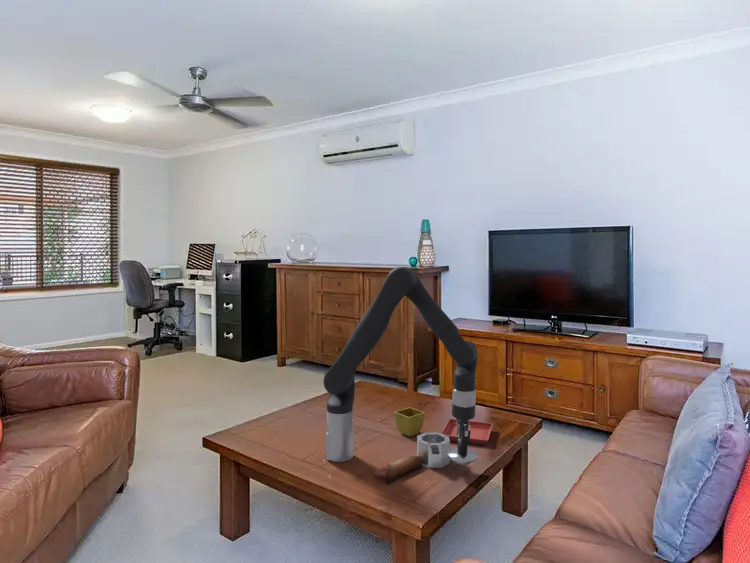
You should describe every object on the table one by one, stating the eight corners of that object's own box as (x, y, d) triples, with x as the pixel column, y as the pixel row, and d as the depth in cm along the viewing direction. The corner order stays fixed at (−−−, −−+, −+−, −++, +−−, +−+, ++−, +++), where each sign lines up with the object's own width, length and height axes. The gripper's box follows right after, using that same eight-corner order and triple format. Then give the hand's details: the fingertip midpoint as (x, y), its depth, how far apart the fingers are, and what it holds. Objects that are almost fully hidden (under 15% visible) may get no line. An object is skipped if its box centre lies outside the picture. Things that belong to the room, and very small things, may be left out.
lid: (449, 467, 161) (449, 444, 160) (445, 454, 171) (445, 432, 170) (480, 468, 161) (480, 445, 160) (474, 454, 171) (475, 433, 170)
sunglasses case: (404, 458, 178) (411, 445, 175) (417, 474, 174) (425, 460, 171) (368, 476, 164) (376, 462, 162) (382, 493, 161) (390, 479, 158)
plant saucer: (488, 448, 187) (488, 439, 187) (440, 442, 193) (440, 434, 193) (493, 431, 204) (493, 423, 204) (449, 426, 210) (449, 418, 210)
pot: (419, 471, 168) (419, 448, 167) (415, 450, 185) (415, 429, 184) (452, 471, 168) (452, 448, 167) (445, 450, 185) (445, 429, 184)
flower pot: (408, 439, 195) (408, 417, 194) (394, 433, 202) (394, 411, 201) (424, 434, 201) (425, 412, 200) (409, 428, 207) (409, 406, 207)
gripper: (449, 395, 171) (448, 444, 173) (455, 409, 157) (454, 462, 159) (471, 395, 171) (470, 444, 173) (479, 409, 157) (477, 462, 159)
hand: (462, 452), depth 166 cm, fingers closed on lid, 3 cm apart
